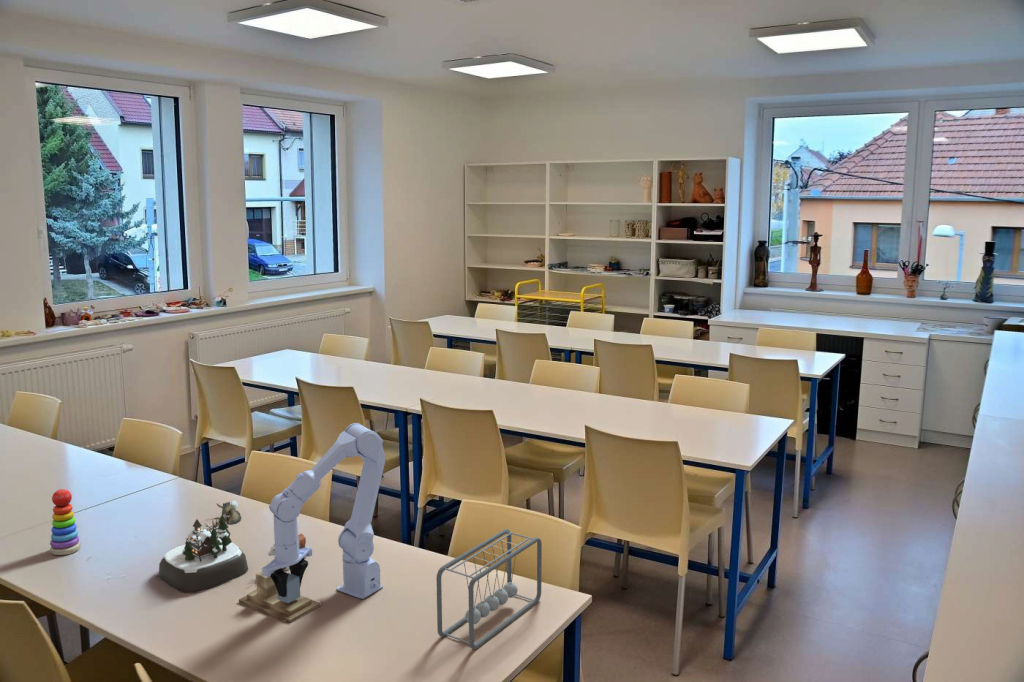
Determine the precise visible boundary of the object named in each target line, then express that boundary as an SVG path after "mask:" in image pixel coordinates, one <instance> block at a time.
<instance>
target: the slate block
mask: <svg viewBox="0 0 1024 682" xmlns="http://www.w3.org/2000/svg"><path fill="white" fill-rule="evenodd" d="M288 573H289V572H288ZM300 595H301V586H300V580H299V576H296V575H293V574H291V573H289V575H288V578H287V593H286V597H281V596H279V595H278V592H277V599H278V600H280V601H283V602H286V603H290V602H292V601H294V600H296V599H298V598H299V597H300Z"/></svg>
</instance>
